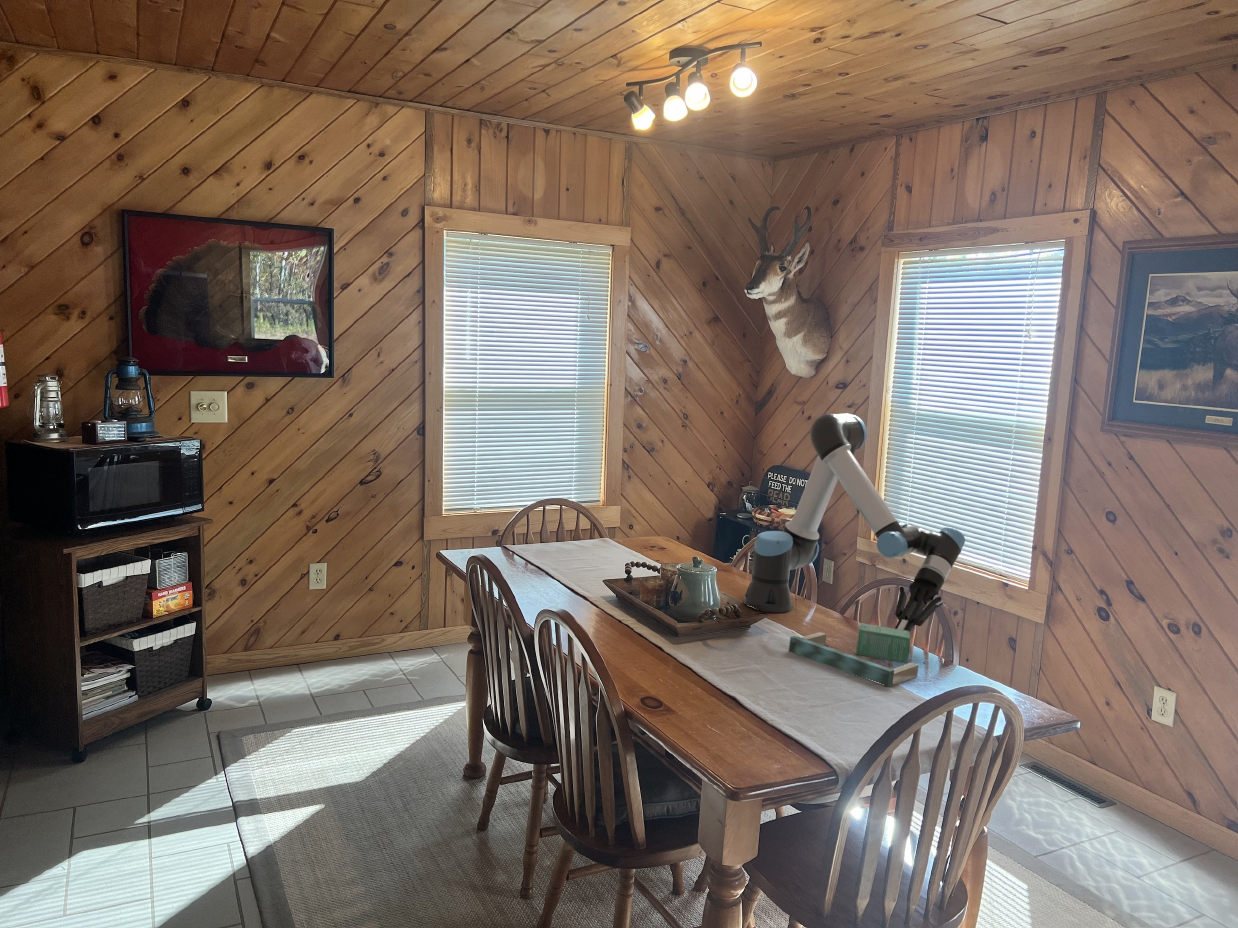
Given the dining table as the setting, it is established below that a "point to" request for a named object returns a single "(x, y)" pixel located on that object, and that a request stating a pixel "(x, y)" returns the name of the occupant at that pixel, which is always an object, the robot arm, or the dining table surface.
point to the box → (883, 643)
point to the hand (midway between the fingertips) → (896, 641)
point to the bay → (849, 660)
